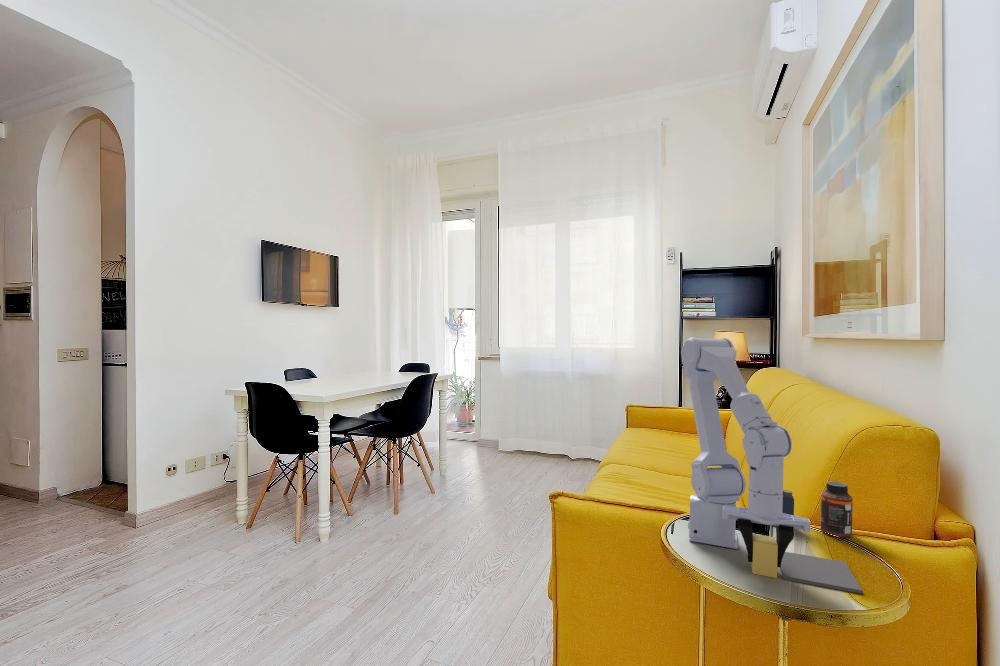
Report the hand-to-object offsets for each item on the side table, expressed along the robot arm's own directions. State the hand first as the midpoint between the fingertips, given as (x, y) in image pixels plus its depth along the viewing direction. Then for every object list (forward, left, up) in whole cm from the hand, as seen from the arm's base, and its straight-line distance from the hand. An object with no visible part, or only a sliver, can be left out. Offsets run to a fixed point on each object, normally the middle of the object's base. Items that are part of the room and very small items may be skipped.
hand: (763, 562), depth 94 cm
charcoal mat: (+9, +4, -2) cm, 10 cm away
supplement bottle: (+17, +28, -2) cm, 33 cm away
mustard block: (0, 0, -2) cm, 2 cm away
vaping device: (+6, +28, -2) cm, 29 cm away
